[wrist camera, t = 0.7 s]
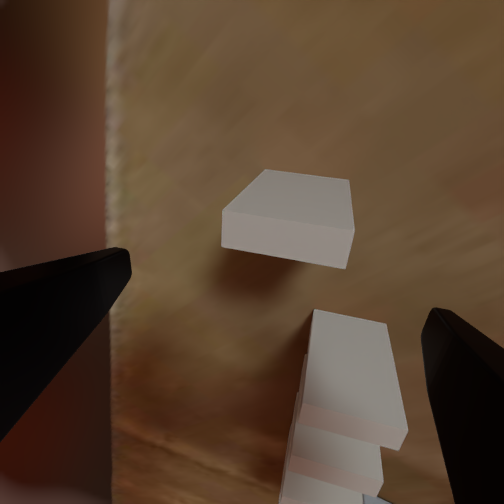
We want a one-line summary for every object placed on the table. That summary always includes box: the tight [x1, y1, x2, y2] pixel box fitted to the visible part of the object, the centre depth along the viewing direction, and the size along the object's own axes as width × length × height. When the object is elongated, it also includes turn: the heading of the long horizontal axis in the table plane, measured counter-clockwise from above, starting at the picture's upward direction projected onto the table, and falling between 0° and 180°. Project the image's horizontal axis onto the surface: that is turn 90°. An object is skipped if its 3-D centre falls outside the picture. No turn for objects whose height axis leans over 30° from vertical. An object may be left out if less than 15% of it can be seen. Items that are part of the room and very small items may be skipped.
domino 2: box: [288, 354, 384, 498], centre depth 21 cm, size 2×5×8 cm, turn 85°
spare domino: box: [221, 169, 355, 269], centre depth 15 cm, size 2×5×8 cm, turn 85°
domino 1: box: [298, 309, 408, 451], centre depth 19 cm, size 2×5×8 cm, turn 85°
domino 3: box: [280, 392, 363, 504], centre depth 23 cm, size 2×5×8 cm, turn 85°
